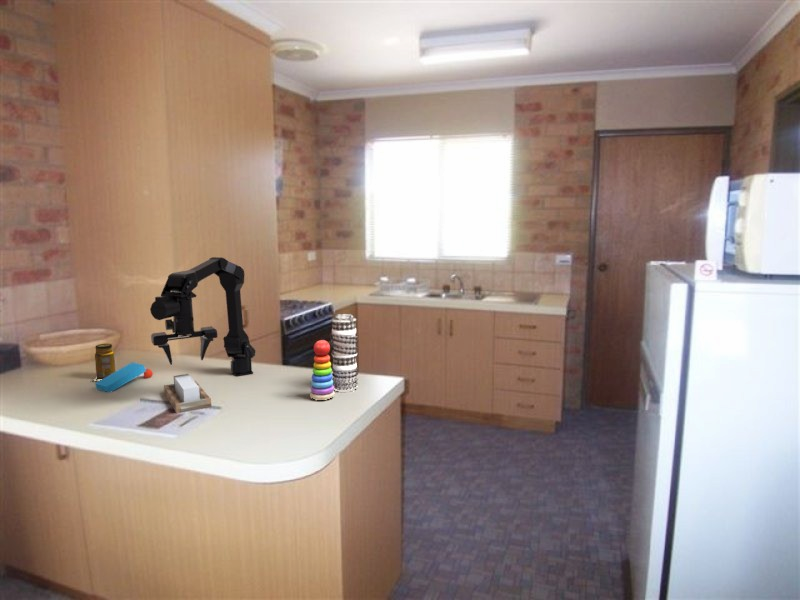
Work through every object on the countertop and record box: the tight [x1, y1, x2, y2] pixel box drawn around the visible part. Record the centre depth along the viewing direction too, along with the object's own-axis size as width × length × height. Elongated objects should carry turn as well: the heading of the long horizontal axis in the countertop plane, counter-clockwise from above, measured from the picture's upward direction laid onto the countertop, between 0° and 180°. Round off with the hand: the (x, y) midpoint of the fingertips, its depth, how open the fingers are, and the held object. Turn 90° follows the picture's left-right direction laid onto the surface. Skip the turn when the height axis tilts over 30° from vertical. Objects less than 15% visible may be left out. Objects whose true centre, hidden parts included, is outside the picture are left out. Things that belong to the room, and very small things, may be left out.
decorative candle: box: [329, 313, 359, 390], centre depth 181 cm, size 9×9×25 cm
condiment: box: [90, 343, 116, 383], centre depth 194 cm, size 7×8×12 cm
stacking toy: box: [309, 339, 336, 401], centre depth 173 cm, size 8×8×19 cm
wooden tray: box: [163, 380, 212, 414], centre depth 172 cm, size 21×10×2 cm, turn 32°
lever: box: [94, 362, 154, 393], centre depth 189 cm, size 7×7×18 cm
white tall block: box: [173, 373, 200, 402], centre depth 172 cm, size 16×4×5 cm, turn 32°
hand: (186, 362), depth 172 cm, fingers open, 9 cm apart
